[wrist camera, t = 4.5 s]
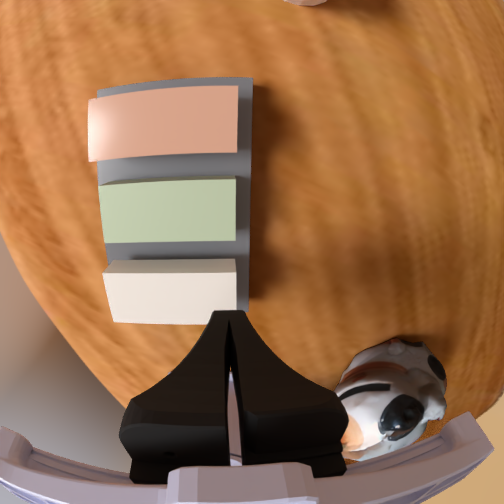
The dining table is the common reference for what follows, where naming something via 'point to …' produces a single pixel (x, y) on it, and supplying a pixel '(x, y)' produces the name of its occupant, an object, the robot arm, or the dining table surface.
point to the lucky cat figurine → (390, 397)
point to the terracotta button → (163, 122)
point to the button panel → (193, 166)
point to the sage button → (169, 209)
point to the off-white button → (170, 290)
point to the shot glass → (306, 2)
